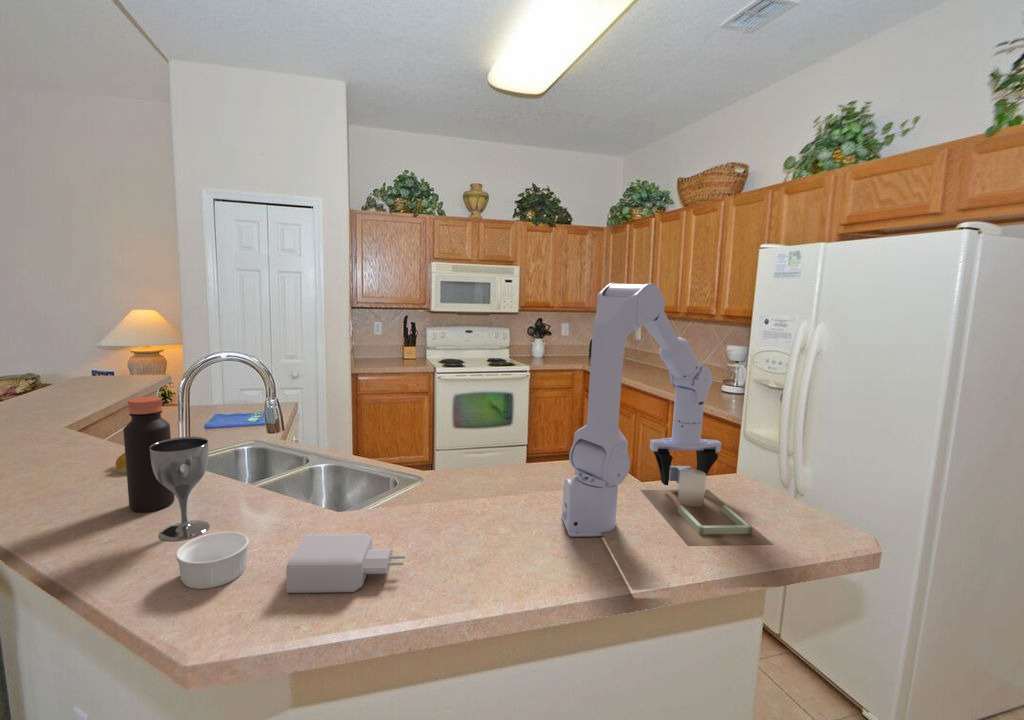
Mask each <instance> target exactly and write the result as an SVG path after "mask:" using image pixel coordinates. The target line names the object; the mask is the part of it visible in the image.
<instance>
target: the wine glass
mask: <svg viewBox="0 0 1024 720" xmlns="http://www.w3.org/2000/svg"><path fill="white" fill-rule="evenodd" d="M150 460H151V465H152V469H153V472H154V475H155V477H156V479H157V481H158V482H159V483H160V484H161V485H162V486H164V487H165V488H167V489H168V490H170V491H171V492H172V493H173V494H174V497H176V499H177V502H178V504H179V509H180V518H181V522H177V523H175V524H174V523H173V524H172V525H169V526H166V527H165V528H164V529H162V530H161V531H160V532H159V534H158V537H159V539H160V540H162V541H165V542H180V541H186V540H191V539H194V538H197V537H200V536H202V535H203V534H204V533H205V532H207V531H208V530H209V529H210V527H211V525H210V523H209V522H208V521H206V520H201V519H200V520H199V519H198V520H197V519H193V520H188V515H187V514H188V512H187V511H188V510H187V509H188V507H187V506H188V501H189V496H190V494H191V492H192V491H193V489H194V488H195V487H196V486H197V484H198V483H199V482H201V480H202V479H203V477H204V476H205V474H206V471H207V467H208V465H209V464H208V462H209V440H208V438H206V437H201V436H181V437H174V438H171V439H167V440H163V441H160V442H157V443H154V444H153V445H151V446H150Z"/></svg>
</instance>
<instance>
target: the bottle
mask: <svg viewBox="0 0 1024 720" xmlns="http://www.w3.org/2000/svg"><path fill="white" fill-rule="evenodd" d="M127 407H128V409H127V411H128V414H129V416H130V418H131V420H130V421H129V422H128V423H127V424H126V426H124V428H123V441H124V453H125V458H126V471H127V473H126V479H127V481H126V484H127V494H128V495H127V498H128V506H129V509H130V511H133V512H136V513H147V512H149V513H150V512H155V511H159V510H162V509H165V508H166V507H169V506H170V505H172V504H173V503H174V501H175V495H174V494H173V493H172V492H171V491H170V490H168V489H167V488H165V487H164V486H162V485H161V484H160V483H159V482H158V481H157V479H156V477H155V475H154V472H153V469H152V465H151V460H150V446H151V445H153V444H154V443H157V442H160V441H163V440H167V439H172V438H171V425H170V423H169V422H168V421H167V420H165V419H164V418H163V417H162V415H161V414H162V413H163V399H162V397H160V396H140V397H135V398H130V399H129V400H127Z"/></svg>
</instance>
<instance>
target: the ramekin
mask: <svg viewBox="0 0 1024 720" xmlns="http://www.w3.org/2000/svg"><path fill="white" fill-rule="evenodd" d="M249 541H250V540H249V536H247V535H246V534H243V533H242V532H241V533H240V532H237V531H236V532H235V531H218V532H212V533H208V534H205V535H203V534H202V535H199V536H196V537H194V538H192V539H189V541H186V543H184V544H182V545H181V546H180V547H179V548H178V549H177V550H176V552H175V558H176V561H177V563H178V569H179V574H180V580H181V582H182V583H183V584H184V586H186V587H188V588H191V589H196V590H197V589H198V590H205V589H213V588H218V587H221V586H224V585H227V584H229V583H230V582H232V581H235V580H236V579H237V578H239V577H240V576H241V575H242V574H243V573H244V571H245V570H246V568H247V554H248V548H249Z"/></svg>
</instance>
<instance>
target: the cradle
mask: <svg viewBox="0 0 1024 720" xmlns="http://www.w3.org/2000/svg"><path fill="white" fill-rule="evenodd" d="M727 506H728V505H727ZM727 506H722V512H723V513H724V514H725V515H726V516H728V517H729V518H730V519H731V520H732V521H733V522H734V523H735V524H737V525H716V526H702V525H701V524H700V523H699V522H698V521H697V520H696V519H695V518H694V517H693V516H692V515H691V514H690V513H689V512H688V511H687V510H686V509H685V508H684V507H683V506H678V512H679V514H680V515H681V516H682V517H683V518H684V519H685V520H686V521H687V522H688V523H689V524H690V525H691V526H692V527H693V528H694V529H695V531H696V532H697V533H698V534H752V527H753V526H752V525H751V524H750V523H749V522H748V521H746V520H745V519H744V518H743V517H741V516H740V515H739V514H738V513H737V512H735V511H734V510H733V509H732V508H731V507H730V506H728V507H727ZM729 507H730V508H731V509H732V510H733V511H734V512H733V511H732V510H731V509H730V508H729ZM736 513H737V514H738V515H739V516H740V517H739V516H738V515H737V514H736ZM742 518H743V519H744V520H745V521H746V522H745V521H744V520H743V519H742ZM748 523H749V524H750V525H751V526H752V527H751V526H750V525H749V524H748Z"/></svg>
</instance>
